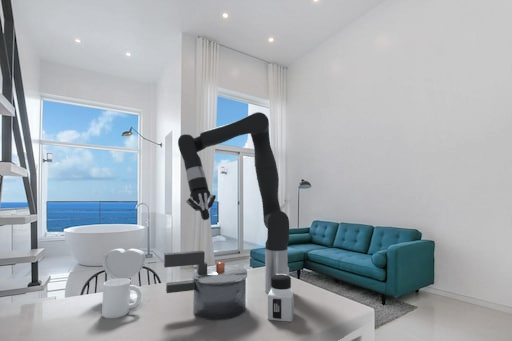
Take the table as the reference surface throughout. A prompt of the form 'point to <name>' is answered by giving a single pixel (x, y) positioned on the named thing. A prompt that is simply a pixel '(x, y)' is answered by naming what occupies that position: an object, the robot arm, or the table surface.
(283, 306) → the container
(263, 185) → the robot arm
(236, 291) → the cooker pot
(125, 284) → the mug
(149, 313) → the table surface
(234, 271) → the cooker lid
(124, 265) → the heart sculpture
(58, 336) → the table surface
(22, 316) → the table surface
